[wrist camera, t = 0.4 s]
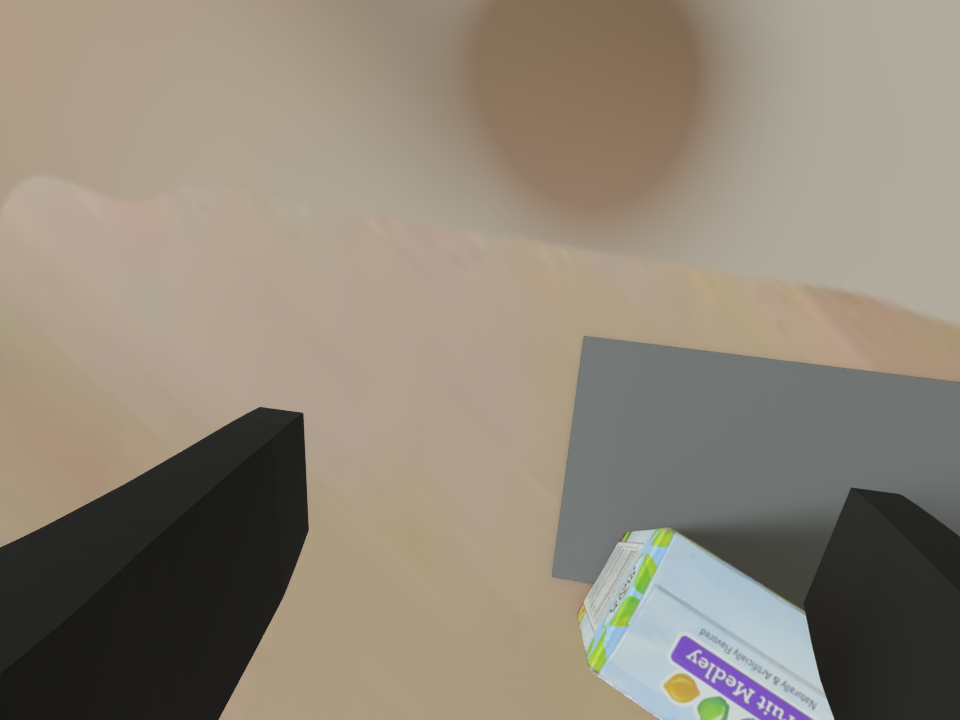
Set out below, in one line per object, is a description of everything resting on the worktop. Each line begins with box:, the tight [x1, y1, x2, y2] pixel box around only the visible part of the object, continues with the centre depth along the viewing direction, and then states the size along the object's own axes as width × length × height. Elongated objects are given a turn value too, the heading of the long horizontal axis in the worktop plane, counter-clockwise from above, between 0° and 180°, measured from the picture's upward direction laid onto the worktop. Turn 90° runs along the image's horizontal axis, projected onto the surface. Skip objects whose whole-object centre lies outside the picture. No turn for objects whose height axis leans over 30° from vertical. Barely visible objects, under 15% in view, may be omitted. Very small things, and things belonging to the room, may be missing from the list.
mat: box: [552, 336, 960, 611], centre depth 35 cm, size 13×24×1 cm, turn 81°
